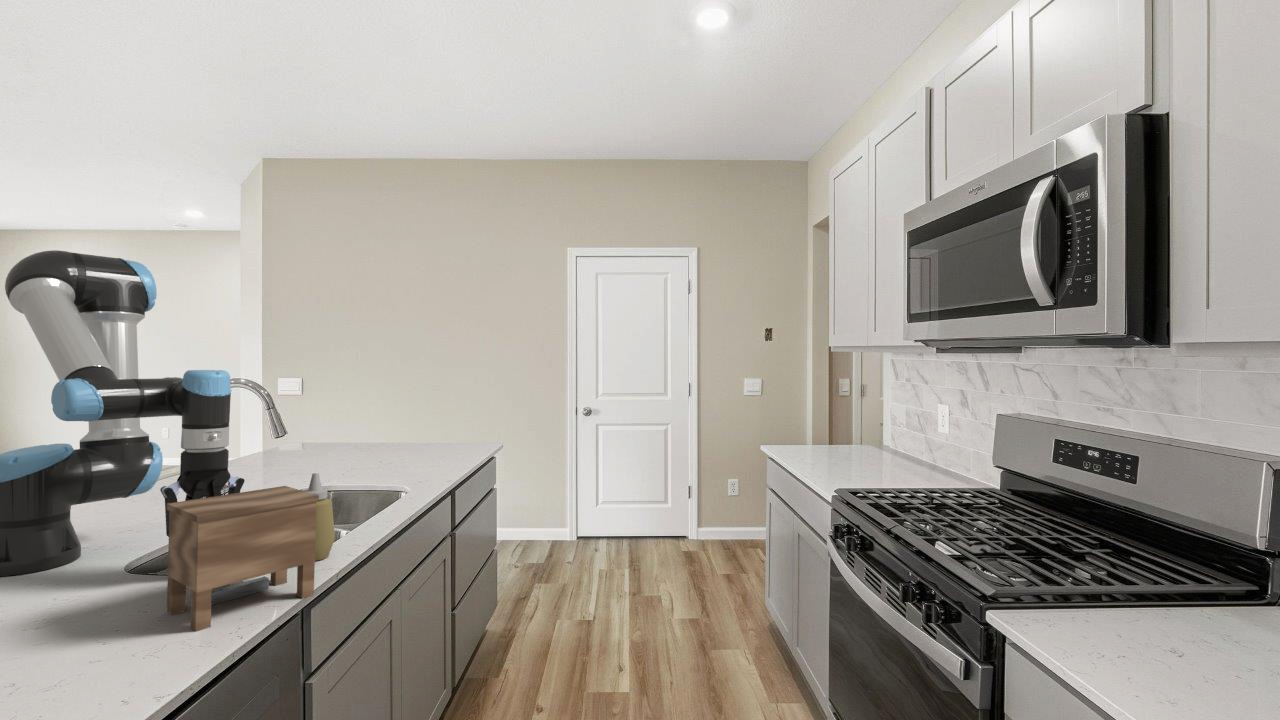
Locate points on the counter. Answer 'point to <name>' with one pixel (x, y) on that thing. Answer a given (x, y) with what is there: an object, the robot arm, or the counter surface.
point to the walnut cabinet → (238, 544)
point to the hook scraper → (239, 589)
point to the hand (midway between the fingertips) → (201, 569)
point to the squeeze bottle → (322, 519)
